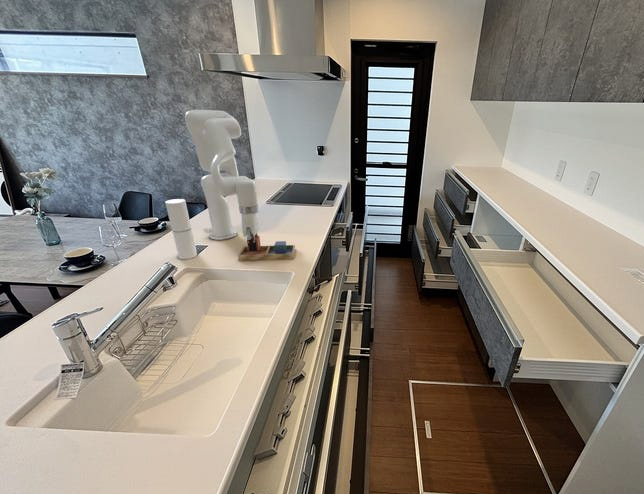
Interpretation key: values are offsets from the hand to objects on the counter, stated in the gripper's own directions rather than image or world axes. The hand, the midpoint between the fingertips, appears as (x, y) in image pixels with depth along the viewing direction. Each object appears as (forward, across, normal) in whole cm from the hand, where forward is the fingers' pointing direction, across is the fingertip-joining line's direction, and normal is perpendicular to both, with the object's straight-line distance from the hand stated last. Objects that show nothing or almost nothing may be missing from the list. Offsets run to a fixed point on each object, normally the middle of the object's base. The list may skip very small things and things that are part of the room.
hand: (254, 247), depth 136 cm
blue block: (+3, 0, +11) cm, 12 cm away
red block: (0, 0, 0) cm, 0 cm away
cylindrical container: (+4, -2, -29) cm, 30 cm away
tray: (+4, 0, +6) cm, 7 cm away
